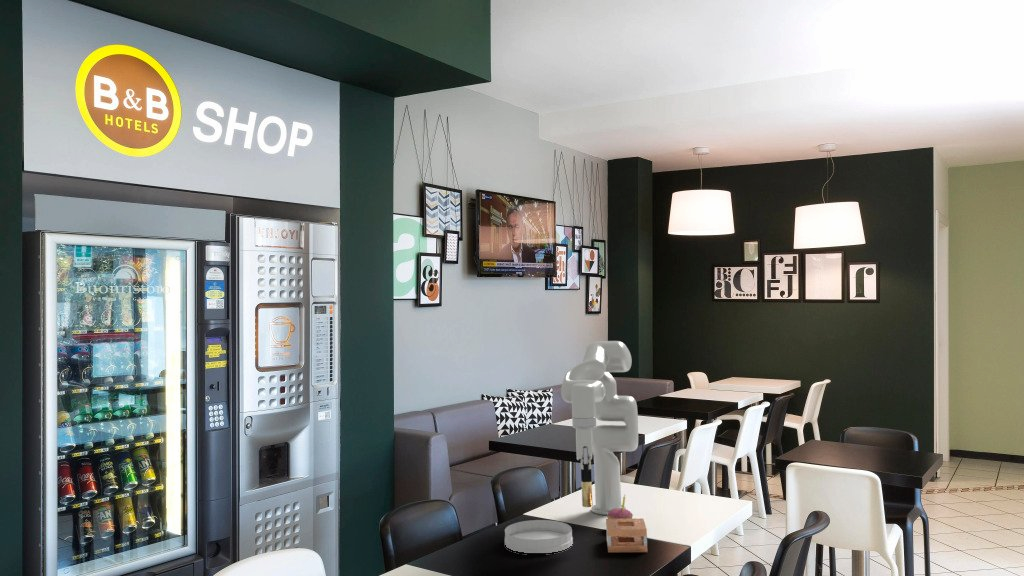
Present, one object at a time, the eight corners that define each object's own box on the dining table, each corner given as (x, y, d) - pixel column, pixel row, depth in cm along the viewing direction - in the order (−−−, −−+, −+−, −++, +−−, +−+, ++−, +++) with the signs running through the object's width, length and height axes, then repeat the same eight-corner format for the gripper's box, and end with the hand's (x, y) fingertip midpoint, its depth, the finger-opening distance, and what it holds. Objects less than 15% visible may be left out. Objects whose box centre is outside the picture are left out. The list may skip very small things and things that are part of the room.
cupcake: (635, 526, 262) (633, 491, 263) (630, 534, 254) (629, 497, 255) (610, 525, 265) (609, 490, 266) (605, 532, 257) (603, 496, 258)
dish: (561, 558, 233) (561, 542, 233) (494, 552, 241) (493, 536, 241) (580, 537, 254) (580, 522, 254) (518, 532, 261) (517, 517, 262)
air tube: (582, 504, 245) (580, 448, 245) (592, 504, 244) (590, 447, 244) (582, 507, 241) (580, 450, 242) (592, 507, 241) (590, 450, 241)
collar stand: (606, 540, 248) (606, 518, 249) (644, 540, 247) (643, 518, 248) (608, 552, 236) (607, 529, 237) (647, 552, 235) (646, 529, 236)
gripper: (572, 418, 252) (574, 474, 251) (572, 427, 235) (574, 487, 235) (595, 417, 251) (597, 473, 251) (596, 426, 235) (599, 486, 234)
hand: (586, 479), depth 243 cm, fingers closed on air tube, 3 cm apart
